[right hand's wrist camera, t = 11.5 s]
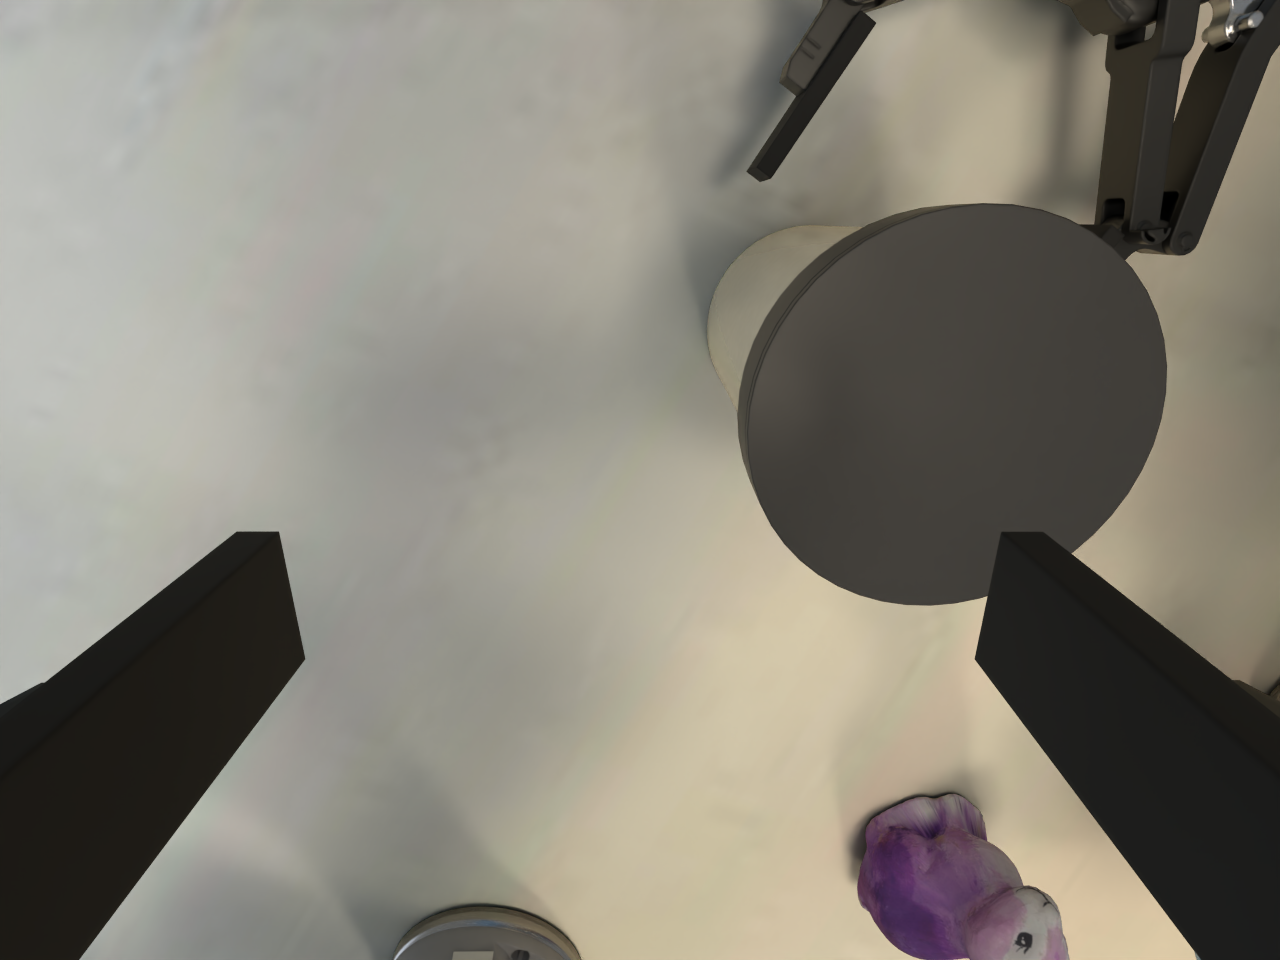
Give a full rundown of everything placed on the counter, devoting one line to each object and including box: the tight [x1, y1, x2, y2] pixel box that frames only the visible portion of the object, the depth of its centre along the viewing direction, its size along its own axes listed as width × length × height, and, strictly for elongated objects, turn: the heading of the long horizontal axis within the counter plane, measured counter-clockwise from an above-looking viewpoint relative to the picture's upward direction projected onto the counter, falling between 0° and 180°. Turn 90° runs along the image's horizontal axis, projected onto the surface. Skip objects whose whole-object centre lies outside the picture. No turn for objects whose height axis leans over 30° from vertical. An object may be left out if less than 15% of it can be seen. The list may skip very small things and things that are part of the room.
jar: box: [707, 225, 863, 412], centre depth 29 cm, size 10×10×19 cm
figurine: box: [857, 794, 1070, 960], centre depth 43 cm, size 9×10×15 cm
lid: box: [737, 203, 1167, 605], centre depth 21 cm, size 12×12×2 cm
